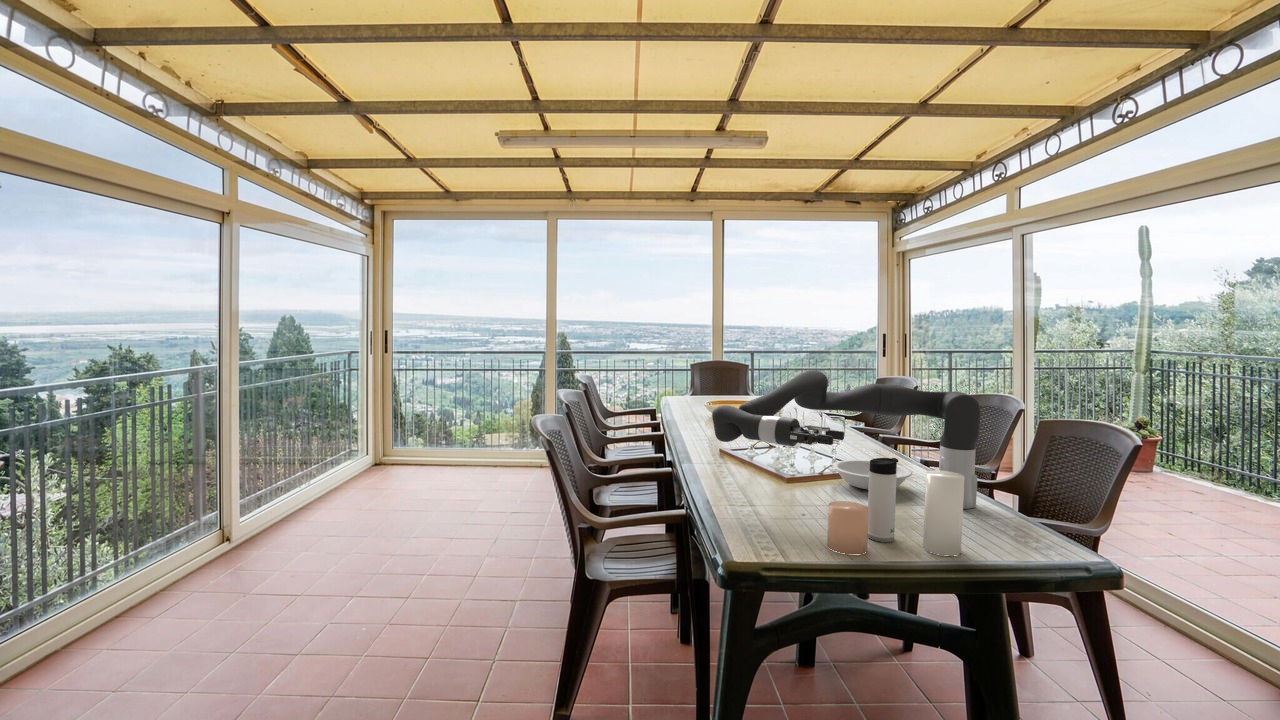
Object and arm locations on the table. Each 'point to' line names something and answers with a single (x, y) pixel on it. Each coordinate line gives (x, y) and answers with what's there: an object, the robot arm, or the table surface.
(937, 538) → the tall white cylinder
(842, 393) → the robot arm
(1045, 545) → the table surface
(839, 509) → the peach rounded cylinder
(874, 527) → the travel mug
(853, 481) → the soup bowl
